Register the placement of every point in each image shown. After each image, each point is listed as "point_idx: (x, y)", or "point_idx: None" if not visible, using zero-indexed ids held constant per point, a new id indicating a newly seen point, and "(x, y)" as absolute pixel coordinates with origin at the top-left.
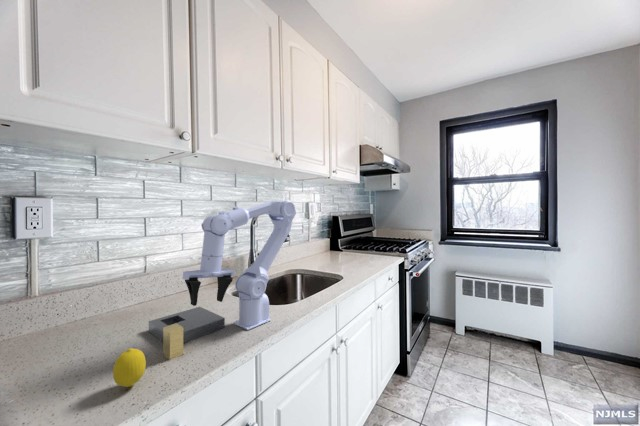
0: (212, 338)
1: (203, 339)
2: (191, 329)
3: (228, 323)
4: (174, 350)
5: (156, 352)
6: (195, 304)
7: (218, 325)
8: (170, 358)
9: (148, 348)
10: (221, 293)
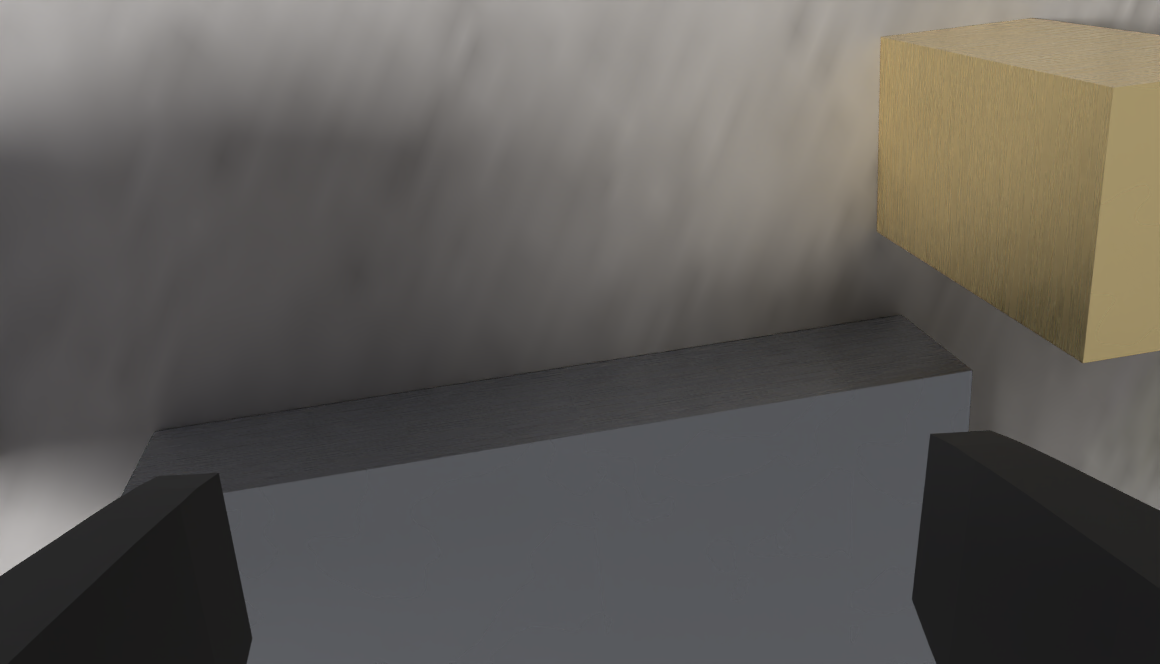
0: (431, 205)
1: (537, 263)
2: (694, 415)
3: (55, 518)
4: (1042, 30)
5: None
6: (973, 439)
7: (250, 444)
8: (1037, 19)
9: None
10: (103, 644)
